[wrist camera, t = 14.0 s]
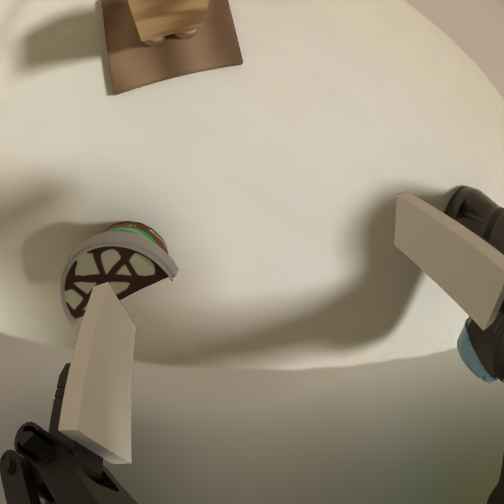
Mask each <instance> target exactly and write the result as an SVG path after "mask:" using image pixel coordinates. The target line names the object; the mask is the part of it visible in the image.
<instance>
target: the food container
mask: <svg viewBox="0 0 504 504" xmlns="http://www.w3.org/2000/svg"><path fill="white" fill-rule="evenodd" d="M177 271H178V267H177V266H176V264H175V263H174V261H173V260H172V259H171V258H170V256H169V255H168V251H167V246H166V244H165V242H164V241H163V239H162V237H161V236H159V235H158V234H157V233H156V232H155V231H154V230H153V229H152V228H150V227H148V226H146V225H144V224H142V223H138V222H131V221H126V222H120V223H117V224H114V225H112V226H111V227H109V228H108V229H107V230H105V231H104V232H103V233H99V234H96V235H94V236H91V237H89V238H87V239H86V240H84V241H83V242H81V243H80V244H79V245H78V246H77V247H76V248H75V249H74V250H73V252H72V253H71V255H70V256H69V258H68V261H67V263H66V265H65V268H64V272H63V276H62V280H61V297H62V304H63V307H64V311H65V313H66V315H67V318H68V320H69V321H70V323H71V324H72V326H73V324H74V323H75V321H76V319H77V318H79V317H82V316H83V315H84V314H85V311H86V308H87V304H88V301H89V298H90V295H91V293H92V290H93V287H94V286H97V285H100V284H103V283H106V282H109V284H110V286H111V288H112V289H113V291H114V293H115V294H116V296H117V298H118V299H119V300H121V299H123V298H125V297H127V296H128V295H130V294H132V293H134V292H136V291H138V290H140V289H142V288H144V287H147V286H149V285H151V284H153V283H156V282H158V281H160V280H162V279H165V278H167V277H169V278H170V279H171V281H173V277H175V276H176V273H177Z"/></svg>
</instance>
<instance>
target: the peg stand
mask: <svg viewBox="0 0 504 504" xmlns="http://www.w3.org/2000/svg"><path fill="white" fill-rule="evenodd" d="M102 5H103V16H104V26H105V34H106V42H107V50H108V56H109V63H110V69H111V75H112V81H113V87H114V92H115V94H116V95H118V94H121V93H124V92H127V91H130V90H133V89H136V88H139V87H142V86H145V85H149V84H152V83H156V82H159V81H163V80H167V79H171V78H175V77H179V76H183V75H187V74H192V73H196V72H201V71H206V70H211V69H217V68H223V67H229V66H235V65H241V64H242V63H243V60H242V56H241V52H240V47H239V43H238V39H237V35H236V31H235V27H234V23H233V19H232V15H231V11H230V7H229V3H228V0H209V3H208V7H207V11H206V15H205V19H204V23H203V27H202V28H200V29H194V30H189V31H184V32H179V33H174V34H170V35H166V36H162V37H158V38H154V39H150V40H147V41H143V42H142V41H141V38H140V36H139V33H138V30H137V27H136V24H135V21H134V18H133V15H132V12H131V9H130V6H129V3H128V0H102Z"/></svg>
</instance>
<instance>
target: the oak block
mask: <svg viewBox="0 0 504 504" xmlns="http://www.w3.org/2000/svg"><path fill="white" fill-rule="evenodd" d="M128 3H129V6H130V9H131V12H132V15H133V18H134V21H135V24H136V27H137V30H138V33H139V36H140V38H141V41H142V42H143V41H147V40H150V39H154V38H158V37H162V36H166V35H170V34H174V33H179V32H184V31H189V30H194V29H200V28H202V27H203V23H204V19H205V15H206V11H207V7H208V3H209V0H128Z"/></svg>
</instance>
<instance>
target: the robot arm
mask: <svg viewBox="0 0 504 504" xmlns="http://www.w3.org/2000/svg"><path fill="white" fill-rule="evenodd" d="M394 246H396V247H397V248H398V249H399V250H400V251H401V252H403V253H404V254H405V255H406V256H407V257H408V258H409V259H411V260H412V261H413V262H414V263H415V264H416V265H417V266H418V267H419V268H421V269H422V270H423V271H424V272H425V273H426V274H427V275H428V276H429V277H430V278H431V279H433V280H434V281H435V282H436V283H437V284H438V285H439V286H440V287H441V288H442V289H443V290H444V291H445V292H446V293H447V294H448V295H449V296H450V297H451V298H452V299H453V300H454V301H455V302H456V303H457V304H458V305H459V306H460V307H461V308H462V309H463V310H464V311H465V312H466V313H467V314H468V315H469V318H468V319H467V320H466V321H465V325H464V327H463V329H462V331H461V333H460V335H459V337H458V340H457V348H458V352H459V354H460V357H461V358H462V360H463V362H464V363H465V364H466V365H467V367H468V368H469V369H470V370H471V371H472V372H473V373H474V374H475V375H476V376H477V377H478V378H482V380H483V381H485V382H487V383H493V382H495V381H496V380H498V379H500V380H501V381H502V382H503V383H504V208H502V207H500V206H498V205H497V204H496V203H495V202H493V201H492V200H491V199H490V198H489V197H487V196H486V195H485V194H484V193H482V192H481V191H480V190H478V189H475V188H471V187H463V188H461V189H460V190H459V191H457V193H456V194H455V195H454V196H453V198H452V199H451V201H450V203H449V205H448V207H447V209H446V212H445V214H444V213H443V212H441V211H440V210H438V209H436V208H435V207H433V206H431V205H430V204H428V203H426V202H425V201H423V200H421V199H420V198H418V197H416V196H414V195H413V194H411V193H409V192H405V193H402V194H398V195H396V218H395V236H394ZM135 335H136V326H135V325H134V323H133V322H132V320H131V319H130V317H129V315H128V314H127V312H126V311H125V309H124V307H123V306H122V304H121V303H120V301H119V299H118V298H117V296H116V294H115V293H114V291H113V289H112V288H111V286H110V284H109V282H106V283H103V284H100V285H97V286H94V287H93V290H92V293H91V295H90V298H89V301H88V304H87V308H86V311H85V314H84V317H83V320H82V324H81V327H80V330H79V334H78V337H77V341H76V345H75V348H74V352H73V356H72V361H71V363H67V364H66V365H65V367H64V369H63V370H62V372H61V374H60V376H59V380H58V385H57V388H58V389H57V390H56V394H55V398H56V399H54V403H53V409H52V414H51V420H50V426H49V433H48V432H47V431H45V430H43V429H42V428H41V427H40V426H38V425H37V424H35V423H33V422H26V423H25V424H23V425H22V426H21V427H20V428H19V430H18V431H17V434H16V437H15V450H16V452H15V451H13V450H7V451H6V452H5V453H4V454H3V456H2V457H1V460H0V473H1V478H2V483H3V488H4V493H5V497H6V501H7V504H41V502H40V499H39V497H41V498H43V499H45V503H46V504H137V502H136V501H135V500H134V499H133V498H132V497H131V496H130V495H129V494H128V493H127V491H126V490H125V489H124V488H123V487H122V486H121V485H120V484H119V482H118V481H117V480H116V479H115V478H114V476H113V475H112V474H111V473H110V471H109V470H108V469H107V468H105V467H104V466H103V459H105V460H107V461H109V462H111V463H112V464H123V463H124V464H125V463H132V462H131V392H132V391H131V390H132V373H133V372H132V371H133V358H134V346H135ZM17 452H18V453H17ZM20 454H21V455H20ZM487 504H504V456H503V463H502V469H501V475H500V480H499V482H498V484H497V486H496V487H495V489H494V490H493V491H492V493H491V495H490V496H489V499H488V501H487Z"/></svg>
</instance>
